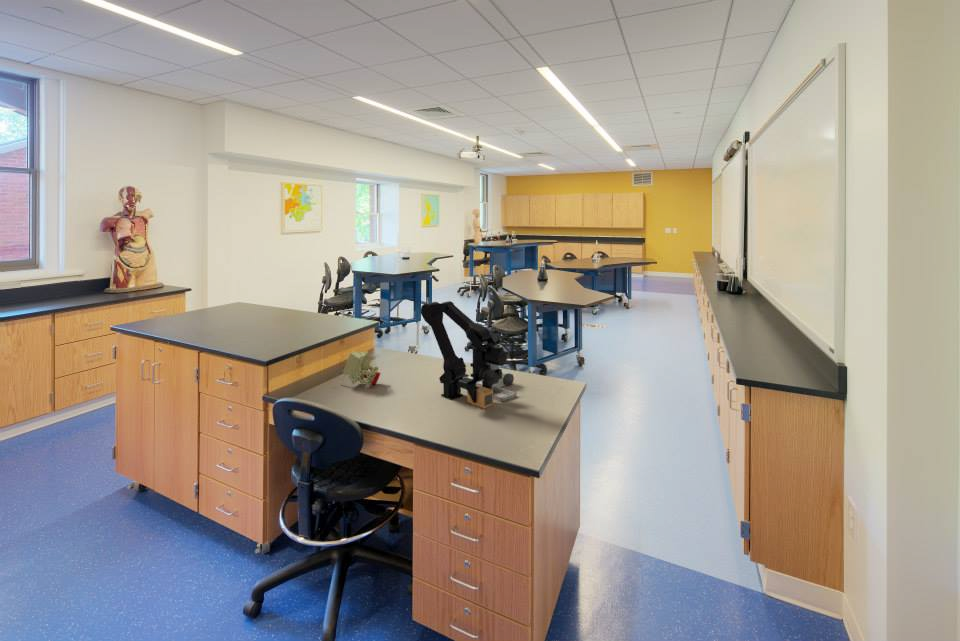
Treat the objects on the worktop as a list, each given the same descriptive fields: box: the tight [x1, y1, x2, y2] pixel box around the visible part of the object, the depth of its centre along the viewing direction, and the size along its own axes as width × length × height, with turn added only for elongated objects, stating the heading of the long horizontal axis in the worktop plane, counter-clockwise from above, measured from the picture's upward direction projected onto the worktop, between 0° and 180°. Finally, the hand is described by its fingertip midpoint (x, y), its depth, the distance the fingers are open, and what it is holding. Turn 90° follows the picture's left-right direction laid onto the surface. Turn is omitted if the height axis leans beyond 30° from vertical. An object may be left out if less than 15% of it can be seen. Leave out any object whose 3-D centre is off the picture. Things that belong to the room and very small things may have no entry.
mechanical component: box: [340, 350, 381, 389], centre depth 209 cm, size 8×17×20 cm, turn 89°
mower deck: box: [463, 363, 515, 391], centre depth 208 cm, size 18×15×10 cm
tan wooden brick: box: [466, 385, 494, 409], centre depth 188 cm, size 5×9×6 cm, turn 44°
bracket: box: [493, 386, 518, 403], centre depth 197 cm, size 9×12×2 cm
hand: (480, 400), depth 188 cm, fingers open, 6 cm apart
